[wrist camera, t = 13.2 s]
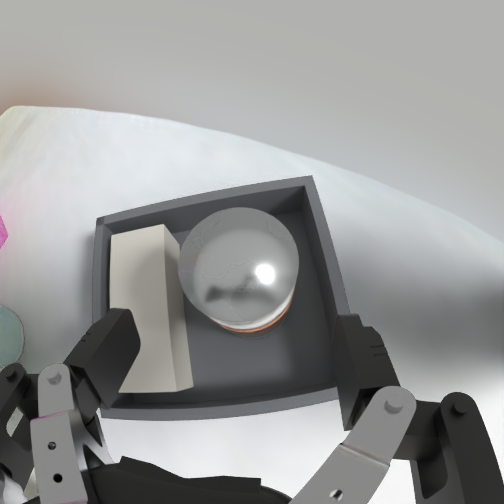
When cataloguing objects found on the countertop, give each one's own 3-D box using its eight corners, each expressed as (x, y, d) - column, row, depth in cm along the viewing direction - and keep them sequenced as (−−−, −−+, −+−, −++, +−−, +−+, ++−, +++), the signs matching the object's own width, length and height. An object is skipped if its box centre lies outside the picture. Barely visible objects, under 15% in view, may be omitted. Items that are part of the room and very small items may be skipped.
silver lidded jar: (282, 264, 23) (286, 197, 14) (295, 333, 21) (311, 311, 12) (213, 276, 23) (174, 218, 14) (222, 344, 21) (182, 331, 12)
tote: (306, 207, 26) (312, 175, 21) (346, 385, 20) (364, 391, 15) (122, 241, 26) (96, 218, 22) (132, 410, 20) (101, 417, 16)
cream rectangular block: (179, 244, 25) (163, 224, 21) (193, 386, 20) (177, 391, 16) (132, 253, 25) (111, 235, 21) (140, 389, 20) (116, 392, 16)
